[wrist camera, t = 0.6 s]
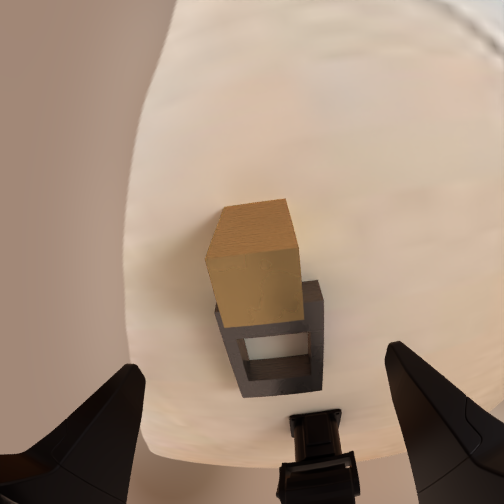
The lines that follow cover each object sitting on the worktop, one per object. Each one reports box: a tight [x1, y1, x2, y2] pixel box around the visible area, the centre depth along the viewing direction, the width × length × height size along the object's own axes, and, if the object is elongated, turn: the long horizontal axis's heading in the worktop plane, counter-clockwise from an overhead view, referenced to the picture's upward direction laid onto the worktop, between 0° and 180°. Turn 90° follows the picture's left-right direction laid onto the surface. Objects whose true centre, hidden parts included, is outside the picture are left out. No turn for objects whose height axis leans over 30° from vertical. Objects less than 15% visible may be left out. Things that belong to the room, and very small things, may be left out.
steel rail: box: [214, 280, 324, 398], centre depth 22 cm, size 11×8×2 cm
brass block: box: [205, 198, 304, 328], centre depth 16 cm, size 4×4×7 cm
